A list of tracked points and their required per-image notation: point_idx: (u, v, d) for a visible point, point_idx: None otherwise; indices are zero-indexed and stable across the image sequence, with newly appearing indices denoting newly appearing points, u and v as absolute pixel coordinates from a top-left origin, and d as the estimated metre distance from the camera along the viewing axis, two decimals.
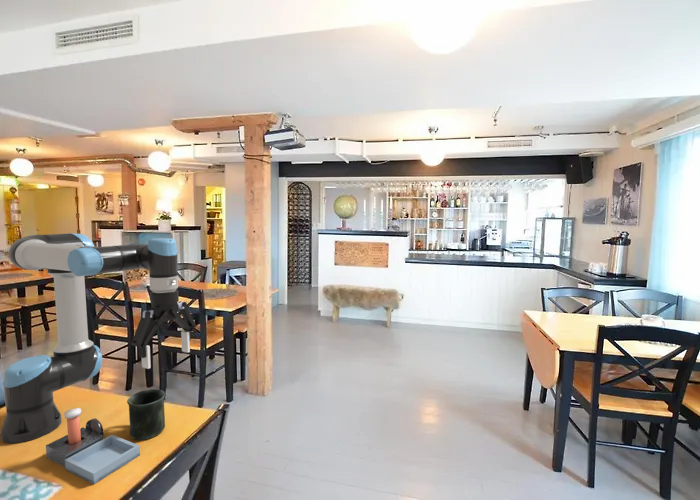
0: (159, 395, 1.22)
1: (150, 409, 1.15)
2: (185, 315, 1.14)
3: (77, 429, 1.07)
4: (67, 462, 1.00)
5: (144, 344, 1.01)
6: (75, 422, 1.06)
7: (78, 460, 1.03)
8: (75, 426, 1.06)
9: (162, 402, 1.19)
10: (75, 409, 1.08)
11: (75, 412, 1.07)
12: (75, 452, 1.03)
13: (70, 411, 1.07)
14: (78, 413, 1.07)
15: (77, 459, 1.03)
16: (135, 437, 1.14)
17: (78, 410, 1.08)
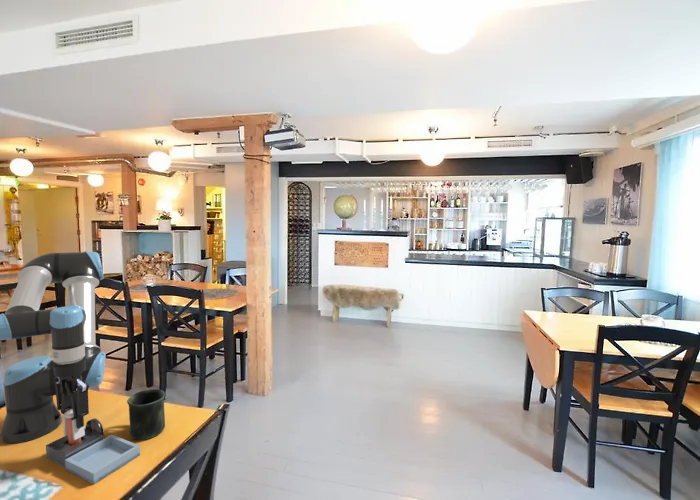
0: (159, 395, 1.22)
1: (150, 409, 1.15)
2: None
3: None
4: (67, 462, 1.00)
5: (61, 411, 1.07)
6: None
7: (78, 460, 1.03)
8: None
9: (162, 402, 1.19)
10: None
11: None
12: (75, 452, 1.03)
13: (70, 411, 1.07)
14: None
15: (77, 459, 1.03)
16: (135, 437, 1.14)
17: None
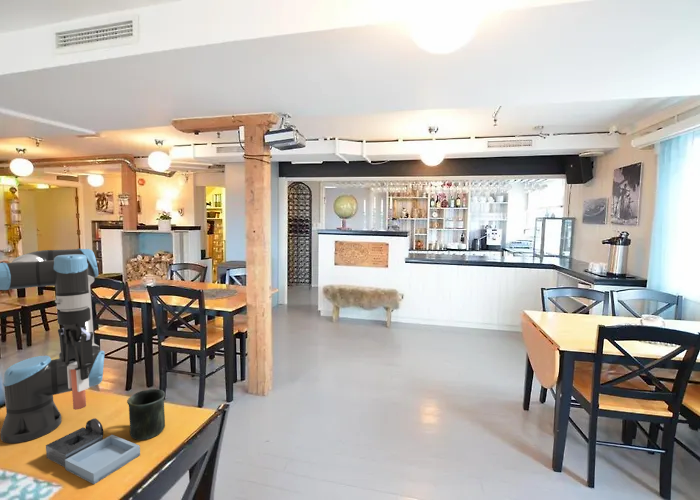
0: (159, 395, 1.22)
1: (150, 409, 1.15)
2: None
3: None
4: (67, 462, 1.00)
5: (65, 363, 1.04)
6: None
7: (78, 460, 1.03)
8: None
9: (162, 402, 1.19)
10: None
11: None
12: (75, 452, 1.03)
13: (74, 363, 1.04)
14: None
15: (77, 459, 1.03)
16: (135, 437, 1.14)
17: None
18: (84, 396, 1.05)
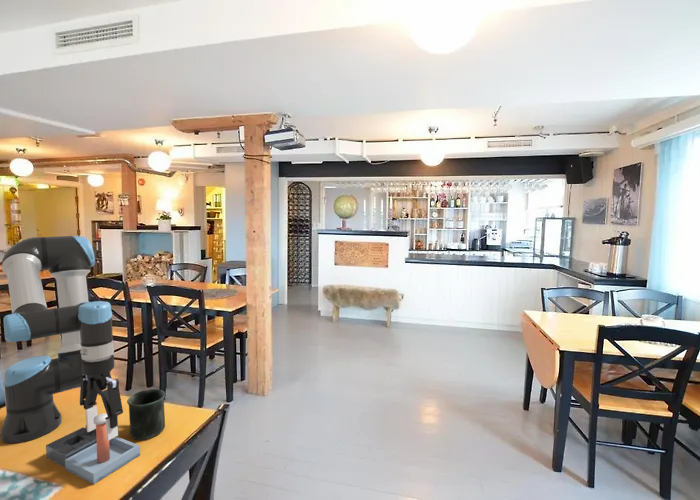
0: (159, 395, 1.22)
1: (150, 409, 1.15)
2: None
3: (106, 436, 1.03)
4: (67, 462, 1.00)
5: (84, 406, 1.04)
6: (105, 428, 1.02)
7: (78, 460, 1.03)
8: (104, 432, 1.02)
9: (162, 402, 1.19)
10: (104, 414, 1.04)
11: (104, 418, 1.02)
12: (75, 452, 1.03)
13: (99, 416, 1.03)
14: None
15: (77, 459, 1.03)
16: (135, 437, 1.14)
17: None
18: (108, 449, 1.04)
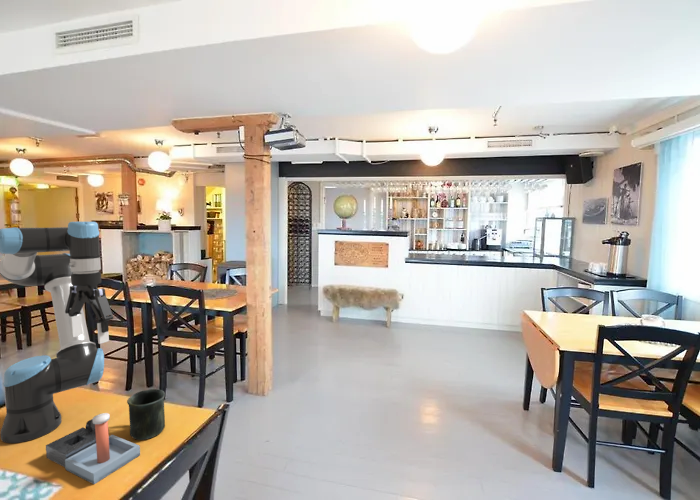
0: (159, 395, 1.22)
1: (150, 409, 1.15)
2: None
3: (105, 435, 1.03)
4: (67, 462, 1.00)
5: (69, 313, 1.14)
6: (104, 428, 1.02)
7: (78, 460, 1.03)
8: (103, 431, 1.02)
9: (162, 402, 1.19)
10: (103, 414, 1.04)
11: (103, 417, 1.02)
12: (75, 452, 1.03)
13: (98, 416, 1.03)
14: (107, 418, 1.03)
15: (77, 459, 1.03)
16: (135, 437, 1.14)
17: (106, 415, 1.04)
18: (108, 449, 1.04)
